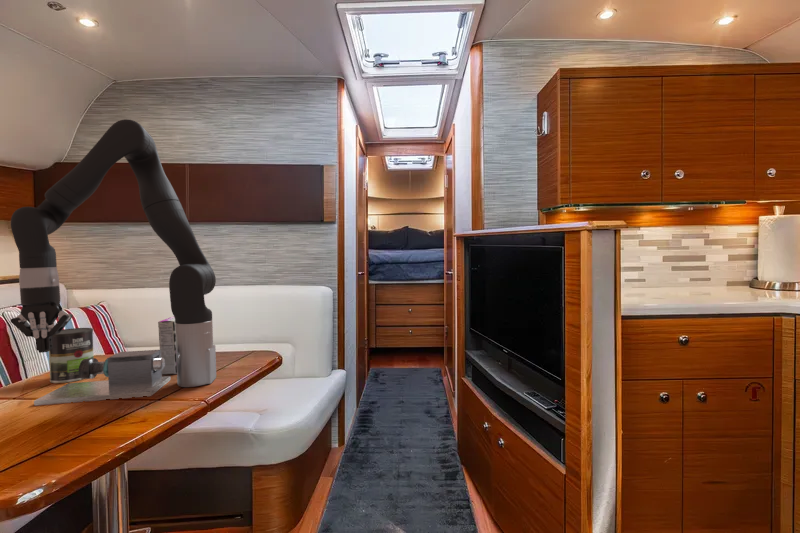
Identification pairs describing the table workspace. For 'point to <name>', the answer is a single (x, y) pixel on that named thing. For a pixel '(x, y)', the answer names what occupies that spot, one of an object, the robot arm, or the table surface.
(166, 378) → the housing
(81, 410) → the table surface
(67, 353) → the coffee can
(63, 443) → the table surface
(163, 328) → the candy bar box
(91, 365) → the shaft
